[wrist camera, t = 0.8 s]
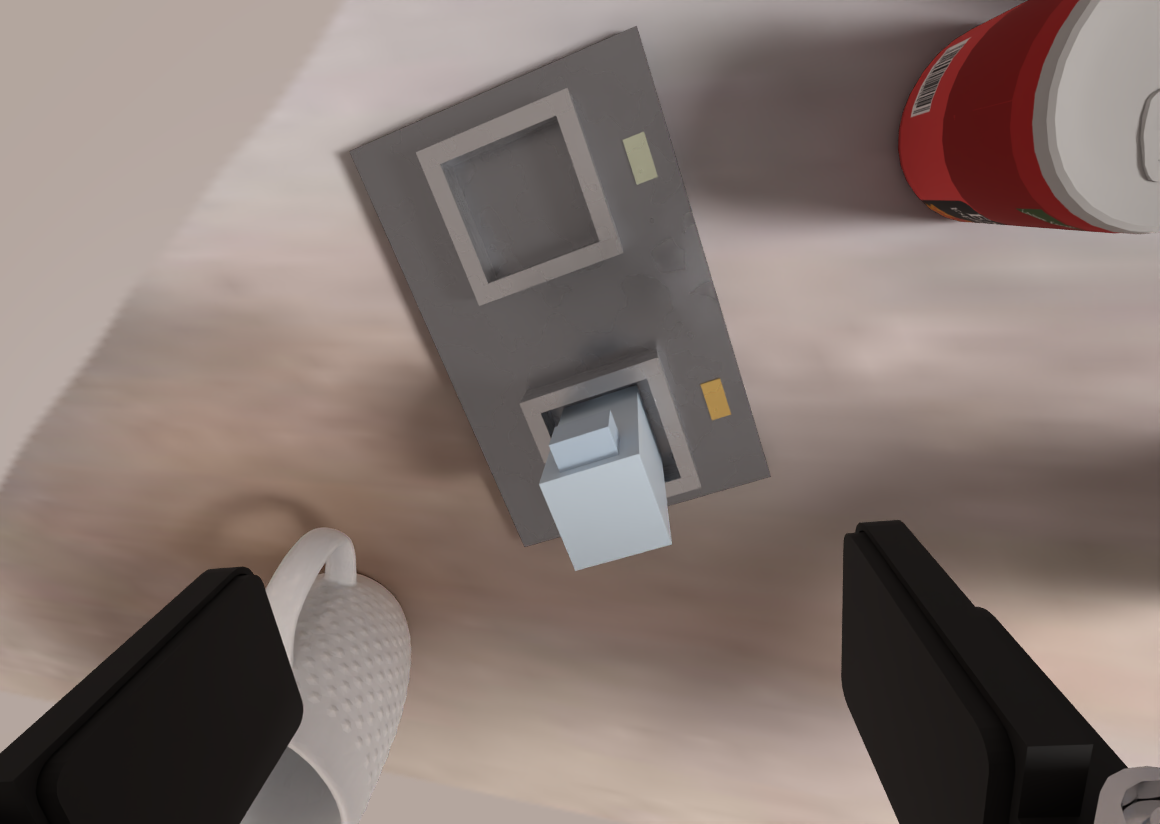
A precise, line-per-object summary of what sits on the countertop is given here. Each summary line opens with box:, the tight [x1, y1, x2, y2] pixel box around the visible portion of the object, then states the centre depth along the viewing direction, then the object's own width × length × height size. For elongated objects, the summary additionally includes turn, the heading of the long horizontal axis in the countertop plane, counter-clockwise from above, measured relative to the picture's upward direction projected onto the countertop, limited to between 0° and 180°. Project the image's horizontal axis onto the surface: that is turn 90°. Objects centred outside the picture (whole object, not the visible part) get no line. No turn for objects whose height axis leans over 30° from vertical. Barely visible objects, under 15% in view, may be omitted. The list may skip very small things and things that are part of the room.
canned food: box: [898, 0, 1160, 234], centre depth 22 cm, size 8×8×11 cm
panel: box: [350, 26, 771, 547], centre depth 30 cm, size 22×14×3 cm, turn 20°
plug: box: [539, 385, 672, 571], centre depth 28 cm, size 5×4×9 cm
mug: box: [240, 527, 412, 824], centre depth 32 cm, size 15×11×13 cm
